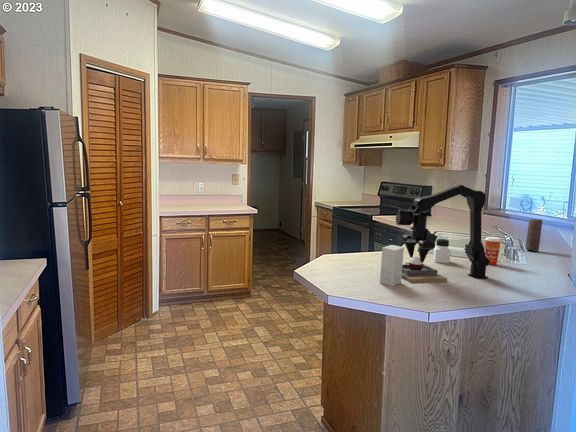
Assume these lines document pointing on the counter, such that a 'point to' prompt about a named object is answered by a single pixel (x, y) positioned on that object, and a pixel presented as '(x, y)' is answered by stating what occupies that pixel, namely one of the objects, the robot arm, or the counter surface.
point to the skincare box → (391, 265)
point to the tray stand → (421, 275)
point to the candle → (533, 234)
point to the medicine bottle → (442, 251)
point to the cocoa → (415, 264)
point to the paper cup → (492, 249)
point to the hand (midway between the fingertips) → (416, 259)
